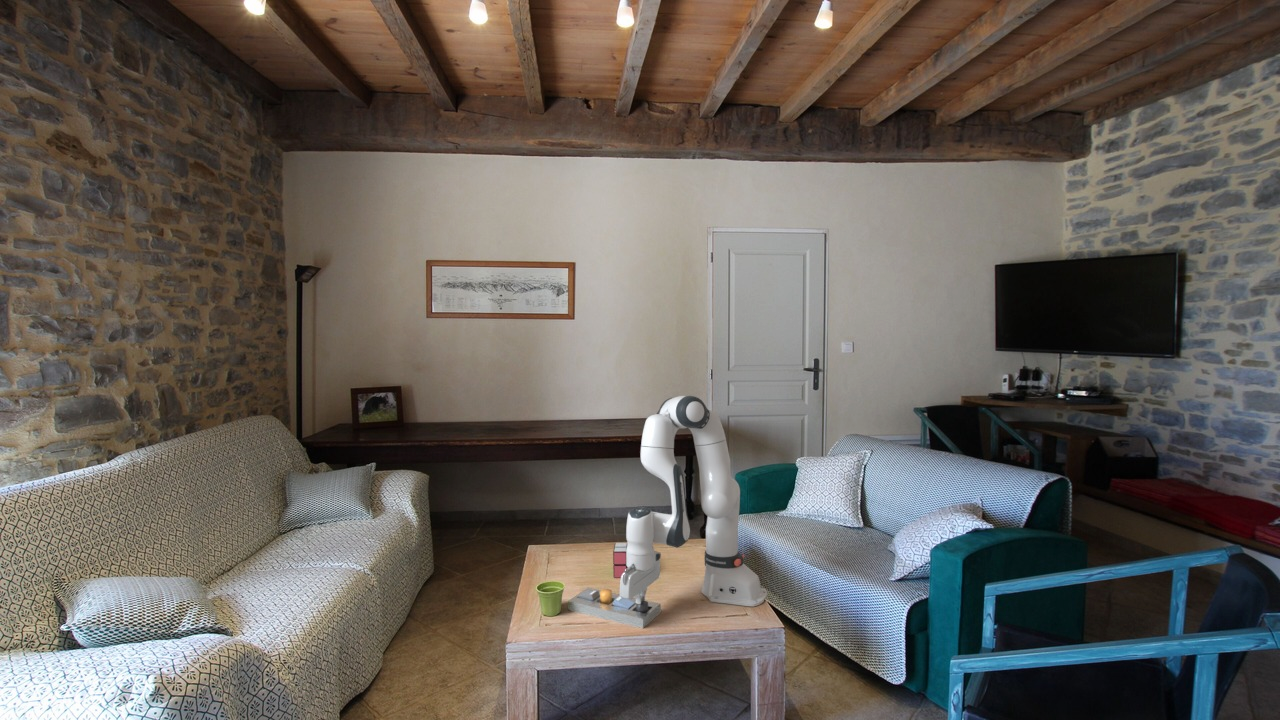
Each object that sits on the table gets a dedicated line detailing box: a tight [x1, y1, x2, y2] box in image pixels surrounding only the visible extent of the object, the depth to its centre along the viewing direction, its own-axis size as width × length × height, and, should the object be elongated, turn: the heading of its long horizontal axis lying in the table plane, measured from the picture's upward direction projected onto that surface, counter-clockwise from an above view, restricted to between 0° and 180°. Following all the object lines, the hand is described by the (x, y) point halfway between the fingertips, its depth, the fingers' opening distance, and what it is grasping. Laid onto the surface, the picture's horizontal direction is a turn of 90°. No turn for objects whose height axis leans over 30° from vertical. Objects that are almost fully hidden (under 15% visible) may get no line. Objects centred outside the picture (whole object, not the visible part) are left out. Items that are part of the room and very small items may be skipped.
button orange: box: [600, 588, 613, 605], centre depth 204 cm, size 4×4×4 cm
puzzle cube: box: [612, 542, 628, 579], centre depth 234 cm, size 10×10×10 cm
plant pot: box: [535, 580, 566, 617], centre depth 202 cm, size 9×9×9 cm
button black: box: [636, 600, 648, 614], centre depth 197 cm, size 4×4×4 cm
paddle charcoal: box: [578, 589, 599, 601], centre depth 207 cm, size 6×4×2 cm
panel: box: [567, 587, 662, 629], centre depth 202 cm, size 28×12×3 cm, turn 61°
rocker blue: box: [613, 596, 635, 610], centre depth 200 cm, size 6×4×2 cm
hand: (640, 602), depth 198 cm, fingers closed
